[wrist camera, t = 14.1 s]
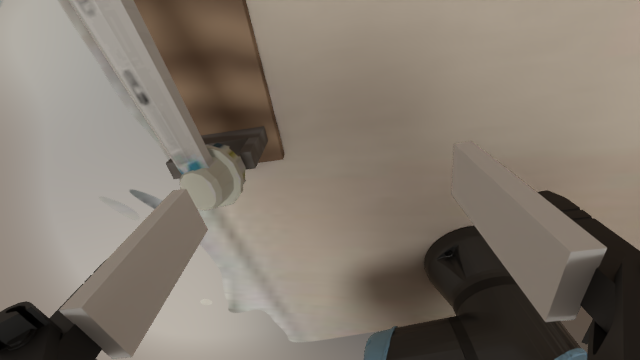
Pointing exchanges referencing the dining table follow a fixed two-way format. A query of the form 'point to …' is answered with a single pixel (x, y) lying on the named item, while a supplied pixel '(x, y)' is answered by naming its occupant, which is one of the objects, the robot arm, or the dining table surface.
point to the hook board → (216, 74)
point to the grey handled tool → (162, 102)
